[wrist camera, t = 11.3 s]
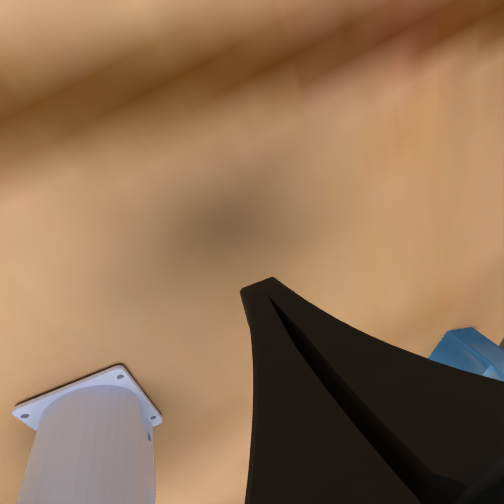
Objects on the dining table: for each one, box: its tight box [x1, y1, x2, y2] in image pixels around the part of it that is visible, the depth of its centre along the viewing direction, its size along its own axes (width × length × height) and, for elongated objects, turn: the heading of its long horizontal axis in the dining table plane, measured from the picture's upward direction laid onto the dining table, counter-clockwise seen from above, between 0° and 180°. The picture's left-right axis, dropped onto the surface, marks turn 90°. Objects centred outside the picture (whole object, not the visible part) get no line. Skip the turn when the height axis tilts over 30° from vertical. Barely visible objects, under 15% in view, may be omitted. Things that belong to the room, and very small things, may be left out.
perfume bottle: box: [428, 327, 504, 381], centre depth 38 cm, size 6×6×12 cm
